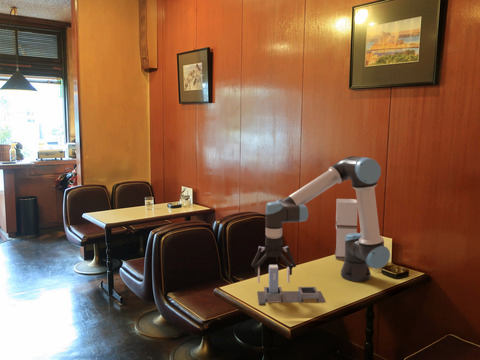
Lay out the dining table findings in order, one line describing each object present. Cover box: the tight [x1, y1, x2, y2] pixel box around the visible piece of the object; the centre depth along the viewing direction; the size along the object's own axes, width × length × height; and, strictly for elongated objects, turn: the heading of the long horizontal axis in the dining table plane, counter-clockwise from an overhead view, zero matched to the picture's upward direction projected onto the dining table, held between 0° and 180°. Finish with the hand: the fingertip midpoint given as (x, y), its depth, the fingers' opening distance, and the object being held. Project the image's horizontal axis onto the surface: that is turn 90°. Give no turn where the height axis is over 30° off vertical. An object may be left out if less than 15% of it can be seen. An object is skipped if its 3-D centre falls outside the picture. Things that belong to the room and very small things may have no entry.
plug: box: [268, 264, 279, 293], centre depth 175 cm, size 4×6×15 cm
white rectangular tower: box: [334, 198, 358, 261], centre depth 233 cm, size 11×11×35 cm
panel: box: [257, 286, 327, 306], centre depth 177 cm, size 30×12×4 cm, turn 90°
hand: (273, 281), depth 176 cm, fingers open, 13 cm apart
